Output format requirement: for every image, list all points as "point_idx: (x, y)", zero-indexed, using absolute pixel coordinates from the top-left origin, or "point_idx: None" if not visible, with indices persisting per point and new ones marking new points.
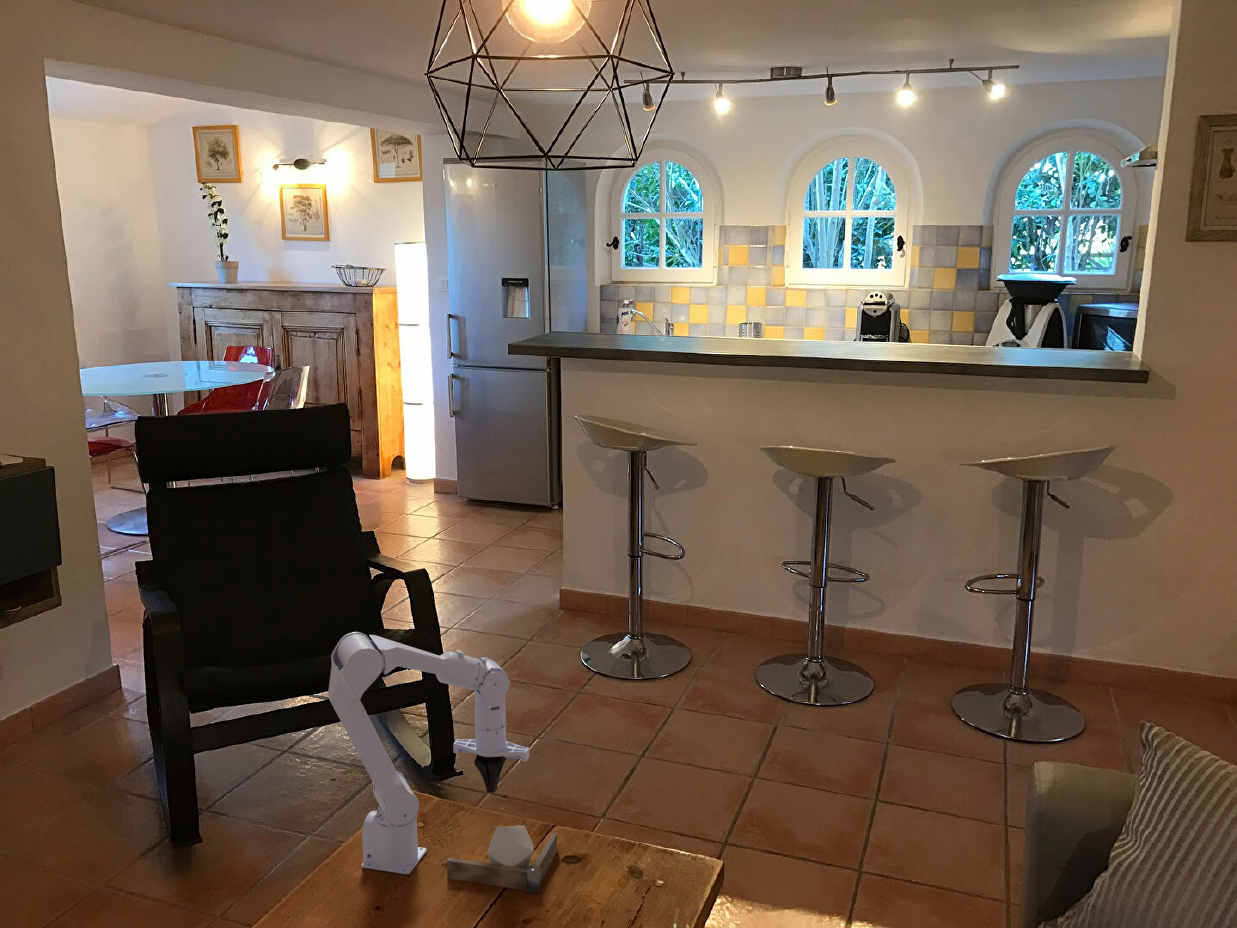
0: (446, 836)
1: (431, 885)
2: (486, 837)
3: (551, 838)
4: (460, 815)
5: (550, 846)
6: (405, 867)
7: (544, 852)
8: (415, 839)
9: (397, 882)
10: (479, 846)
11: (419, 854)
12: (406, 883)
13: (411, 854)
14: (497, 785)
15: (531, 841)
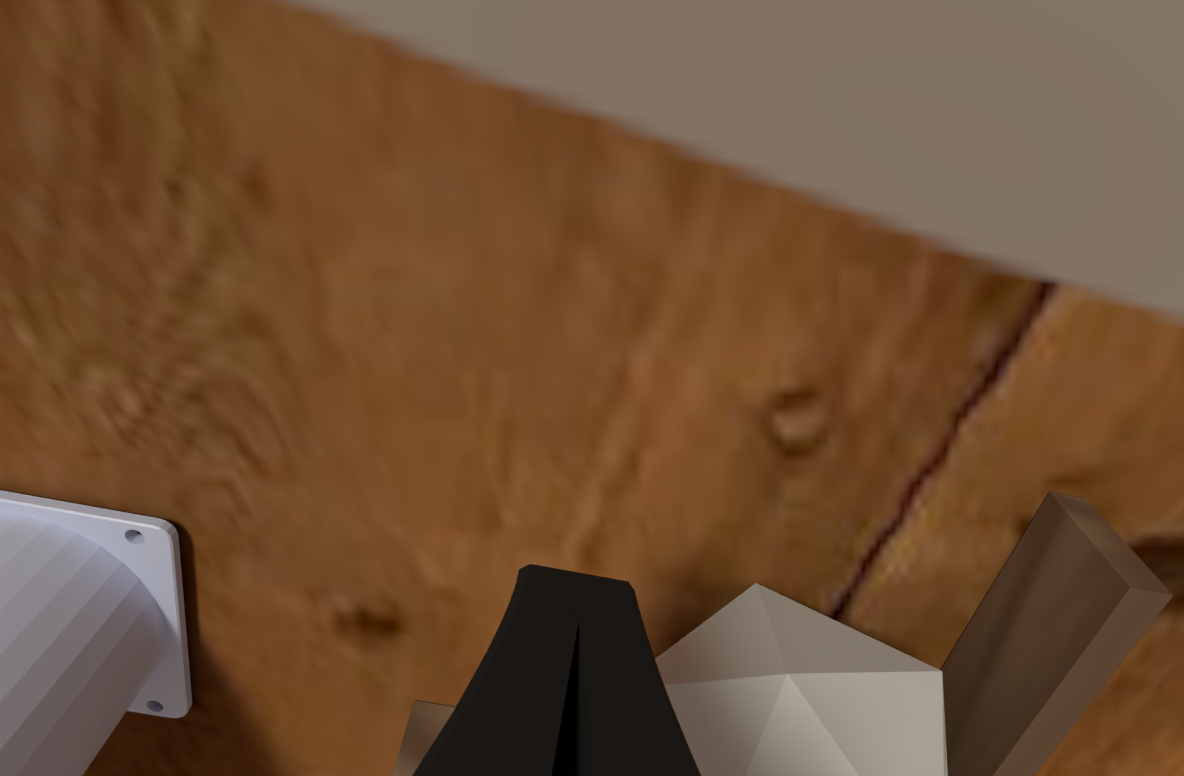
0: (229, 351)
1: (350, 760)
2: (543, 356)
3: (1106, 646)
4: (201, 3)
5: (1074, 711)
6: (144, 686)
7: (1018, 774)
8: (77, 755)
9: (168, 743)
10: (516, 462)
11: (155, 584)
12: (217, 749)
13: (124, 712)
14: (638, 612)
15: (942, 719)
